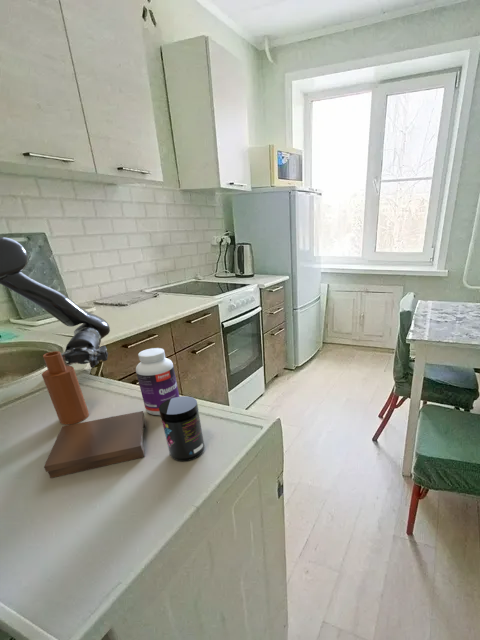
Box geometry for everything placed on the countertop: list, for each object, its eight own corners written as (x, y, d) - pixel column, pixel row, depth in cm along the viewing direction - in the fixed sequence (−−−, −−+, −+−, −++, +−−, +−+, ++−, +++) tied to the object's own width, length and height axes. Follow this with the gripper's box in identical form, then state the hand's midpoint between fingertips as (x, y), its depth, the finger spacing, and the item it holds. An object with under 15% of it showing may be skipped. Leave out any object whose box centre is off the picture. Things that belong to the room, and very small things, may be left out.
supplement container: (184, 438, 72) (175, 394, 68) (212, 445, 70) (204, 399, 65) (162, 458, 67) (150, 411, 62) (191, 466, 64) (181, 417, 60)
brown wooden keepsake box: (49, 479, 63) (43, 466, 61) (66, 438, 75) (61, 426, 73) (144, 458, 67) (140, 445, 66) (146, 422, 79) (143, 410, 78)
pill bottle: (167, 419, 80) (153, 360, 73) (138, 414, 82) (123, 357, 76) (188, 402, 87) (177, 347, 80) (161, 398, 89) (148, 344, 83)
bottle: (57, 427, 79) (31, 360, 72) (63, 414, 84) (39, 351, 77) (86, 421, 81) (64, 356, 74) (90, 409, 86) (70, 347, 79)
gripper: (51, 338, 99) (34, 357, 85) (106, 330, 102) (99, 348, 89) (60, 362, 102) (45, 385, 88) (113, 354, 106) (107, 375, 92)
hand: (72, 366), depth 88 cm, fingers open, 8 cm apart
